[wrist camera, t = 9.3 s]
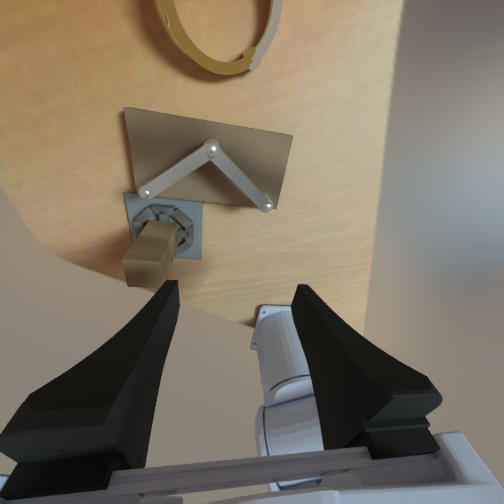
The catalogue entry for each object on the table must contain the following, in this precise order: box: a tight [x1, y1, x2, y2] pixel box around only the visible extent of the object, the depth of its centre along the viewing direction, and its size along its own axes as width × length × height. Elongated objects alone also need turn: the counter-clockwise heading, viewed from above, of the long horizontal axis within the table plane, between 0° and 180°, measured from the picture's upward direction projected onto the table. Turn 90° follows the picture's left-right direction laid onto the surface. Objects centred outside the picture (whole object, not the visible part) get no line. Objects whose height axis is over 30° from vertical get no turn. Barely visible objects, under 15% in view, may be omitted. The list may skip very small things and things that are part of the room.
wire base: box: [124, 107, 293, 209], centre depth 17 cm, size 6×12×1 cm, turn 81°
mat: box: [124, 192, 202, 260], centre depth 20 cm, size 6×6×1 cm
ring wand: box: [122, 203, 194, 288], centre depth 17 cm, size 5×5×7 cm
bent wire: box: [138, 138, 273, 213], centre depth 16 cm, size 5×10×4 cm, turn 81°
